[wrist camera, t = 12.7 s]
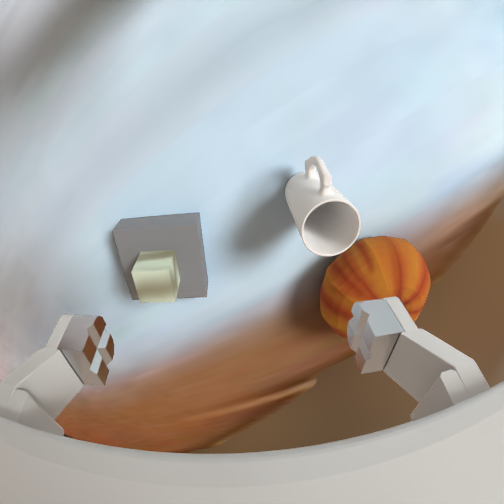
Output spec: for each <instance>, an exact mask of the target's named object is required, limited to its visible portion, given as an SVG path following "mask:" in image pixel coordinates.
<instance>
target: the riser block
mask: <svg viewBox="0 0 504 504" xmlns="http://www.w3.org/2000/svg"><path fill="white" fill-rule="evenodd" d="M113 235H114V239H115V243H116V247H117V250H118V254H119V258H120V261H121V264H122V268H123V271H124V275H125V278H126V281H127V284H128V287H129V291H130V294H131V297H132V300H139V296H138V293H137V290H136V287H135V283H134V280H133V277H132V273H131V272H132V269H133V267H134V265H135V263H136V261H137V258H138V256H139V254H140V252H146V251H161V250H175V254H176V260H177V265H178V270H179V275H180V283H179V288H178V293H177V297H176V298H196V297H207V289H208V277H207V269H206V262H205V254H204V246H203V238H202V230H201V222H200V213H186V214H173V215H161V216H150V217H139V218H129V219H121V220H120V222H119V223H118V224H117V226H116V227H115V229H114V230H113Z"/></svg>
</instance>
